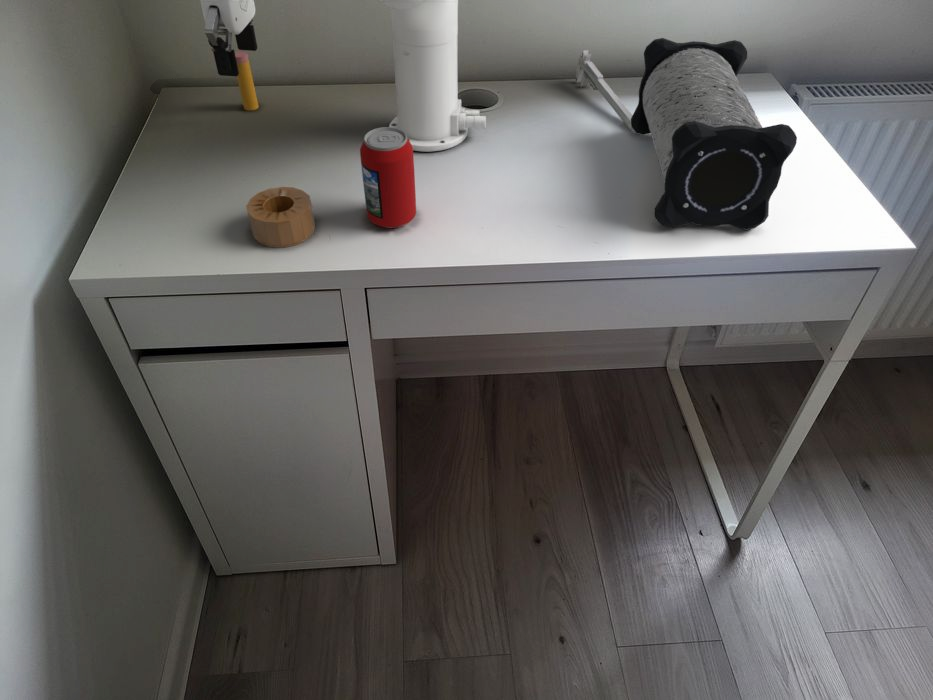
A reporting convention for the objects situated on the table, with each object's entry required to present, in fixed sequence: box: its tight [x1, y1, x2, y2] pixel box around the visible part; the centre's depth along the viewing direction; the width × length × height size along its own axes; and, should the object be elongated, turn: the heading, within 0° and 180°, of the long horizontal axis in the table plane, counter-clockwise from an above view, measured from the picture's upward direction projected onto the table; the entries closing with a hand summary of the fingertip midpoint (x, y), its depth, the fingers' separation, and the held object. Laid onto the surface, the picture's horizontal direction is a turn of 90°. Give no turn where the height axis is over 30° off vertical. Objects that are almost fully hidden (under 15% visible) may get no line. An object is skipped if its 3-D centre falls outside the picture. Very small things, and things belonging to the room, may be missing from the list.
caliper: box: [575, 49, 637, 134], centre depth 119 cm, size 20×1×6 cm, turn 22°
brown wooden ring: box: [246, 186, 316, 249], centre depth 94 cm, size 8×8×4 cm
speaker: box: [631, 37, 798, 231], centre depth 99 cm, size 15×28×15 cm, turn 178°
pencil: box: [235, 50, 259, 112], centre depth 117 cm, size 2×2×9 cm
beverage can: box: [359, 126, 417, 229], centre depth 93 cm, size 7×7×12 cm
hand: (238, 62), depth 115 cm, fingers open, 9 cm apart
